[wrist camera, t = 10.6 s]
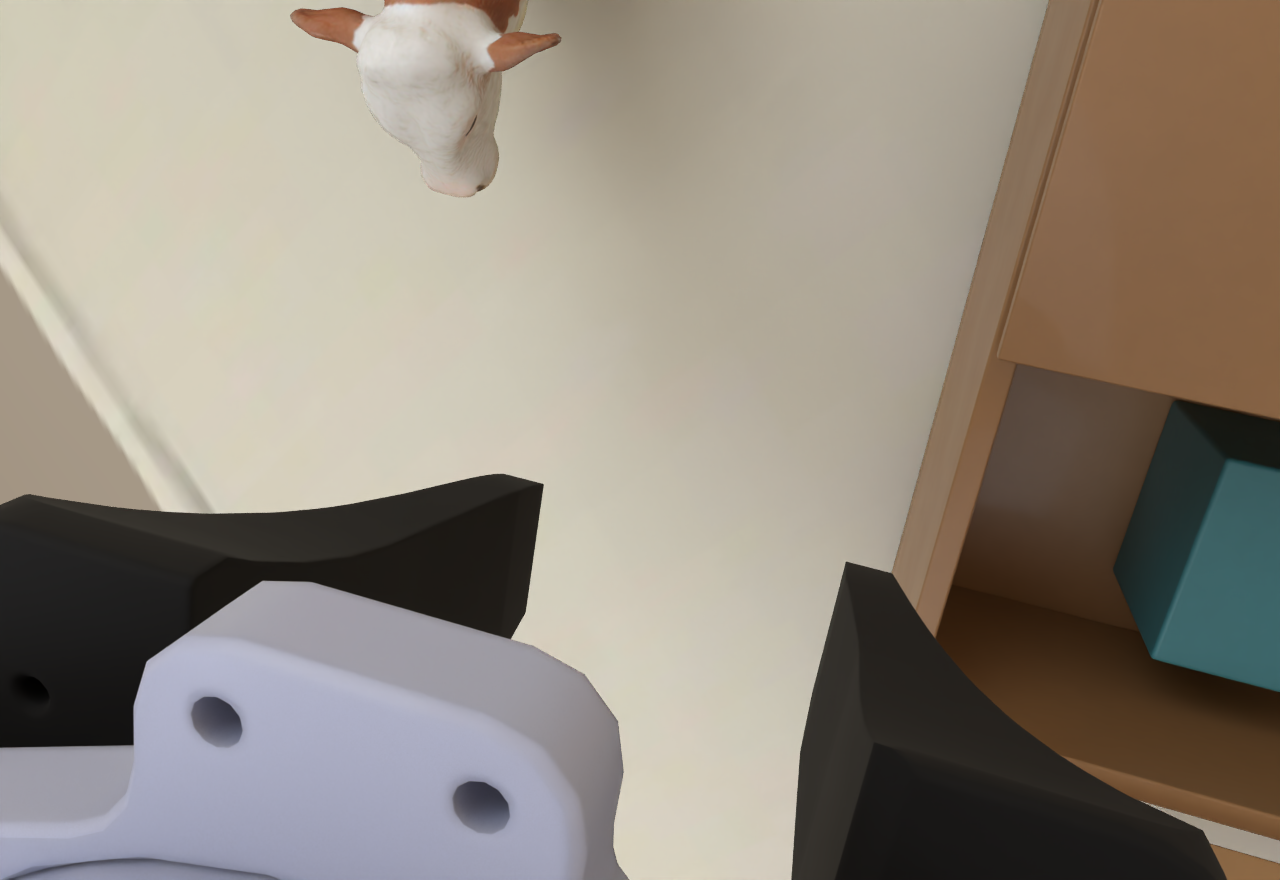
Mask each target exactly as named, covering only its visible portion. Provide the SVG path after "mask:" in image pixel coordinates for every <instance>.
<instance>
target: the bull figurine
mask: <svg viewBox="0 0 1280 880" xmlns="http://www.w3.org/2000/svg"><path fill="white" fill-rule="evenodd" d="M527 4H528V0H385V5H384V9H383V10H382V12H381V13H380V14H378V15H376V16H374V17H373V16H369V15H365V14H363V13H360V12H358V11H356V10H352V9H348V8H343V7H342V8H332V9H323V10H311V9H298V10H295V11H294V12H293V13H292V14H291V15H290V17H291V19H292V22H294V23H295V24H296V25H297V26H298V27H299V28H301V29H302V30H304V31H305V32H307V33H308V34H309V35H311V36H313V37H315V38H319V39H323V40H328V41H333V42H337V43H340V44H343V45H345V46H347V47H349V48H350V49H352V50H354V51H355V52H357V53H358V55H357V68H358V70H359V73H360V76H361V87H362V92H363V95H364V98H365V101H366V104H367V106H368V108H369V110H370V112H371V114H372V116H373V117H374V119H375V120H376V121H377V122H378V123H379V125H380V126H381V127H382V128H383V129H384V130H385V131H386V132H387V133H388V134H389V135H391V136H392V137H393V138H395V139H396V140H398V141H399V142H401V143H403V144H405V145H407V146H408V147H410V148H411V149H412V151H413V152H414V153H415V154H416V155H417V156H418V157H419V159H420V160H421V176H422V178H423V180H424V182H425V183H426V185H427V186H428V187H429V188H430V189H432V190H433V191H436V192H440V193H443V194H447V195H451V196H455V197H471V196H473V195H474V194H475V193H476V192H478V191H481V190H483V189H485V188H486V187H487V186H488V185H489V184H490V183H491V182H492V180H493V179H494V176H495V174H496V171H497V166H498V161H499V152H498V146H497V144H496V141H495V138H494V133H493V132H494V127H495V122H496V119H497V115H498V110H499V103H500V96H501V85H502V71H505V70H508V69H510V68H512V67H514V66H516V65H517V64H519V63H520V62H522V61H523V60H525V59H527V58H528V57H530V56H532V55H533V54H535V53H538V52H540V51H543V50H545V49H548V48H550V47H553V46H556V45H557V44H558V43H560V42H561V37H560V36H559V34H556V33H553V34H546V35H536V34H530V33H523V32H519V30H520V28H521V26H522V23H523V20H524V18H525V14H526V10H527Z"/></svg>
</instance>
